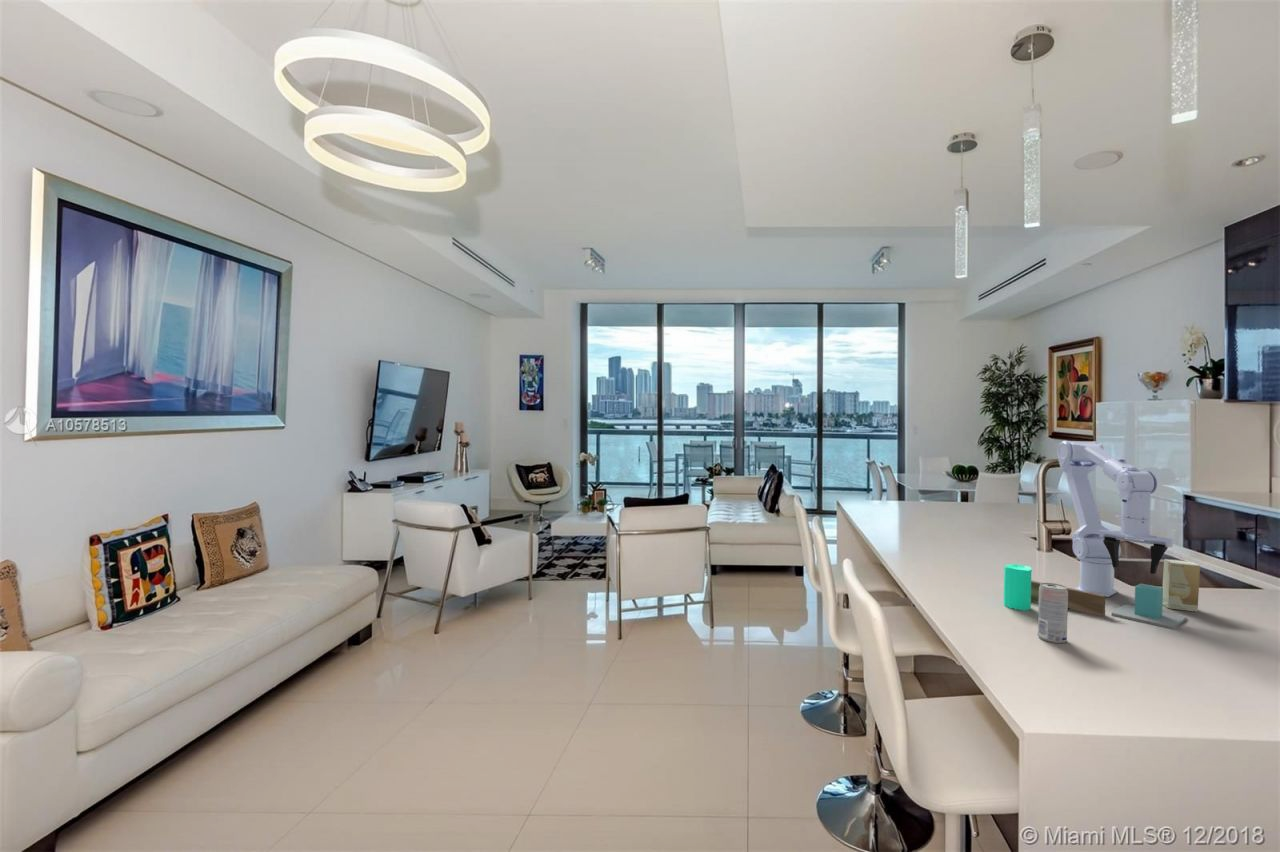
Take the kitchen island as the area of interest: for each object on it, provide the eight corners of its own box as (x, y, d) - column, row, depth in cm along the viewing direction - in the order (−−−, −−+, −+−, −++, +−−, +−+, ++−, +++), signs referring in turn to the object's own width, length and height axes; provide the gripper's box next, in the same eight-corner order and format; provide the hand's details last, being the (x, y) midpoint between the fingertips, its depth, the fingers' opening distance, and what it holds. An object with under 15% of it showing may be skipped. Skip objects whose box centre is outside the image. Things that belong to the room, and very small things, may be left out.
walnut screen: (1016, 595, 165) (1017, 577, 165) (1105, 615, 149) (1105, 595, 149) (1014, 596, 164) (1014, 578, 164) (1103, 616, 148) (1103, 596, 148)
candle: (1022, 603, 158) (1023, 558, 158) (1035, 610, 152) (1036, 564, 152) (999, 602, 158) (1000, 557, 158) (1010, 609, 152) (1011, 563, 152)
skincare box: (1168, 609, 154) (1169, 562, 154) (1160, 604, 158) (1162, 558, 158) (1199, 612, 152) (1201, 565, 152) (1191, 607, 156) (1192, 561, 156)
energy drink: (1062, 636, 134) (1063, 583, 134) (1070, 645, 129) (1071, 590, 129) (1034, 633, 136) (1035, 581, 136) (1041, 641, 131) (1043, 587, 131)
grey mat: (1125, 606, 156) (1125, 604, 156) (1186, 619, 147) (1186, 616, 147) (1111, 615, 149) (1111, 612, 149) (1174, 629, 139) (1174, 626, 139)
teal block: (1139, 610, 151) (1139, 583, 151) (1162, 615, 147) (1163, 587, 147) (1134, 614, 148) (1135, 586, 148) (1157, 619, 145) (1158, 590, 144)
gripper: (1096, 515, 156) (1094, 566, 157) (1168, 523, 145) (1167, 578, 145) (1104, 512, 161) (1103, 562, 161) (1175, 520, 149) (1174, 574, 149)
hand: (1134, 569), depth 153 cm, fingers open, 7 cm apart
